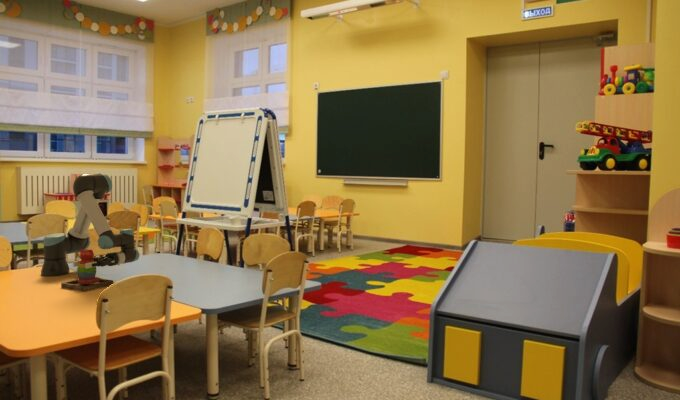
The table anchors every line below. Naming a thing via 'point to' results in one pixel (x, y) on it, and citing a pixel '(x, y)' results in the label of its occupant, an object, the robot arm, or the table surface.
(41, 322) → the table surface
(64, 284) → the dark brown square tray
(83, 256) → the stacking bear
